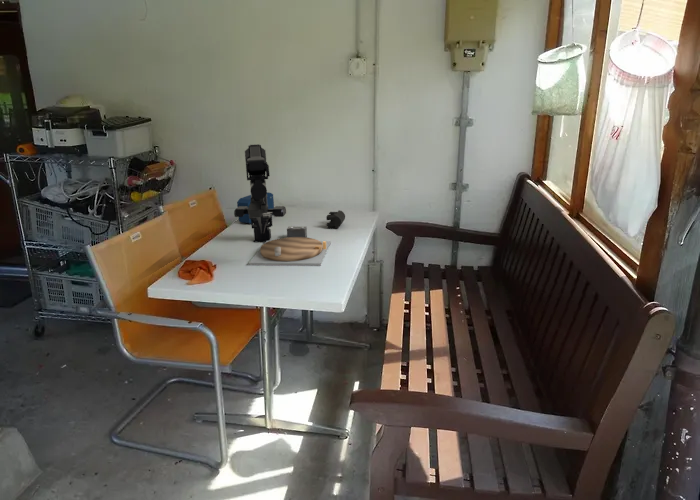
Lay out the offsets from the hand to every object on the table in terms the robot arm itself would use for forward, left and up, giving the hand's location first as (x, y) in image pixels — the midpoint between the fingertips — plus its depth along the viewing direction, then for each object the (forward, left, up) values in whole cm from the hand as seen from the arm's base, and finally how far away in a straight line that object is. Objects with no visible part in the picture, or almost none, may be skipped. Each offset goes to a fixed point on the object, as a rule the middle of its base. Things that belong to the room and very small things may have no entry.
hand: (262, 233), depth 207 cm
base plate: (+8, +11, -12) cm, 19 cm away
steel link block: (+6, +32, -12) cm, 35 cm away
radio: (-21, +64, -12) cm, 69 cm away
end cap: (+21, +51, -12) cm, 57 cm away
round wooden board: (+8, +11, -11) cm, 18 cm away
